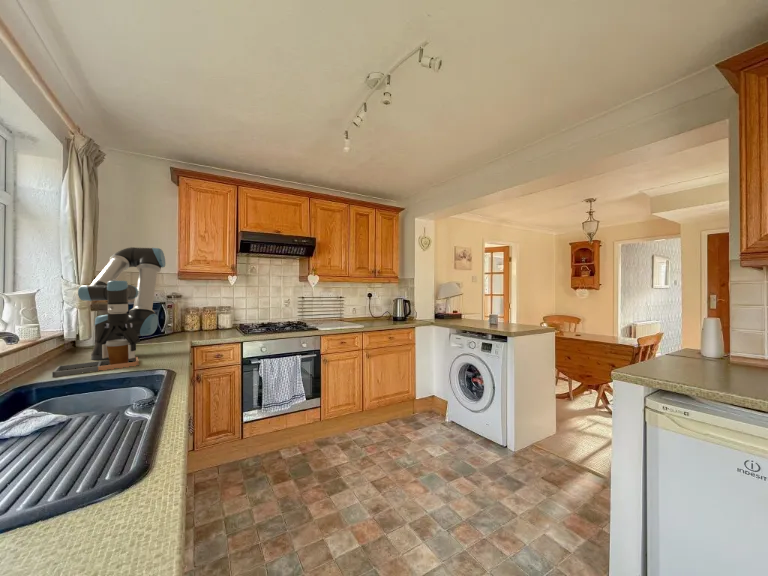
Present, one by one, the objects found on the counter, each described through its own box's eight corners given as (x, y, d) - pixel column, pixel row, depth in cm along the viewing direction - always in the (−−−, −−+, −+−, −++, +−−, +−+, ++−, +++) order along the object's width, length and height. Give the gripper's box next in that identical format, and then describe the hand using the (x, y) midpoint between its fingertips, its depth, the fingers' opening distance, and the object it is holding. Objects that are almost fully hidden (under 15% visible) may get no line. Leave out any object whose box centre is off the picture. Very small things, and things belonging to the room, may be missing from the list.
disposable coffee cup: (133, 365, 152) (133, 340, 152) (107, 369, 145) (106, 342, 145) (129, 362, 158) (129, 338, 158) (104, 365, 151) (103, 340, 151)
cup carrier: (58, 370, 144) (58, 365, 144) (137, 360, 162) (137, 356, 162) (52, 377, 132) (52, 372, 132) (138, 365, 150) (138, 361, 150)
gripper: (86, 313, 149) (86, 359, 149) (135, 313, 146) (135, 359, 146) (102, 312, 156) (102, 355, 156) (148, 312, 154) (149, 356, 154)
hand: (118, 357), depth 151 cm, fingers open, 13 cm apart
